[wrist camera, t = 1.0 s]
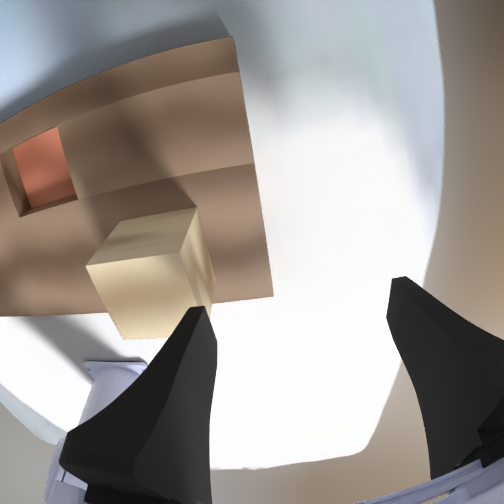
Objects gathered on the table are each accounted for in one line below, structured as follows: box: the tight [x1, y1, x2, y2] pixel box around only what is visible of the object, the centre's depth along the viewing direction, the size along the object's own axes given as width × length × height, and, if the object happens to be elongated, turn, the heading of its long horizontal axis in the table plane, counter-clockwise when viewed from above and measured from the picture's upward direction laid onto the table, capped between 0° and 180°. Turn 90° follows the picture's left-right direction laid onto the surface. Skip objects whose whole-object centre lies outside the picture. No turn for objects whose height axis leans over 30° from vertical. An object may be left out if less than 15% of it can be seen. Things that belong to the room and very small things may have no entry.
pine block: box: [86, 207, 216, 340], centre depth 16 cm, size 5×5×5 cm
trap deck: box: [0, 36, 273, 317], centre depth 17 cm, size 16×37×5 cm, turn 99°
